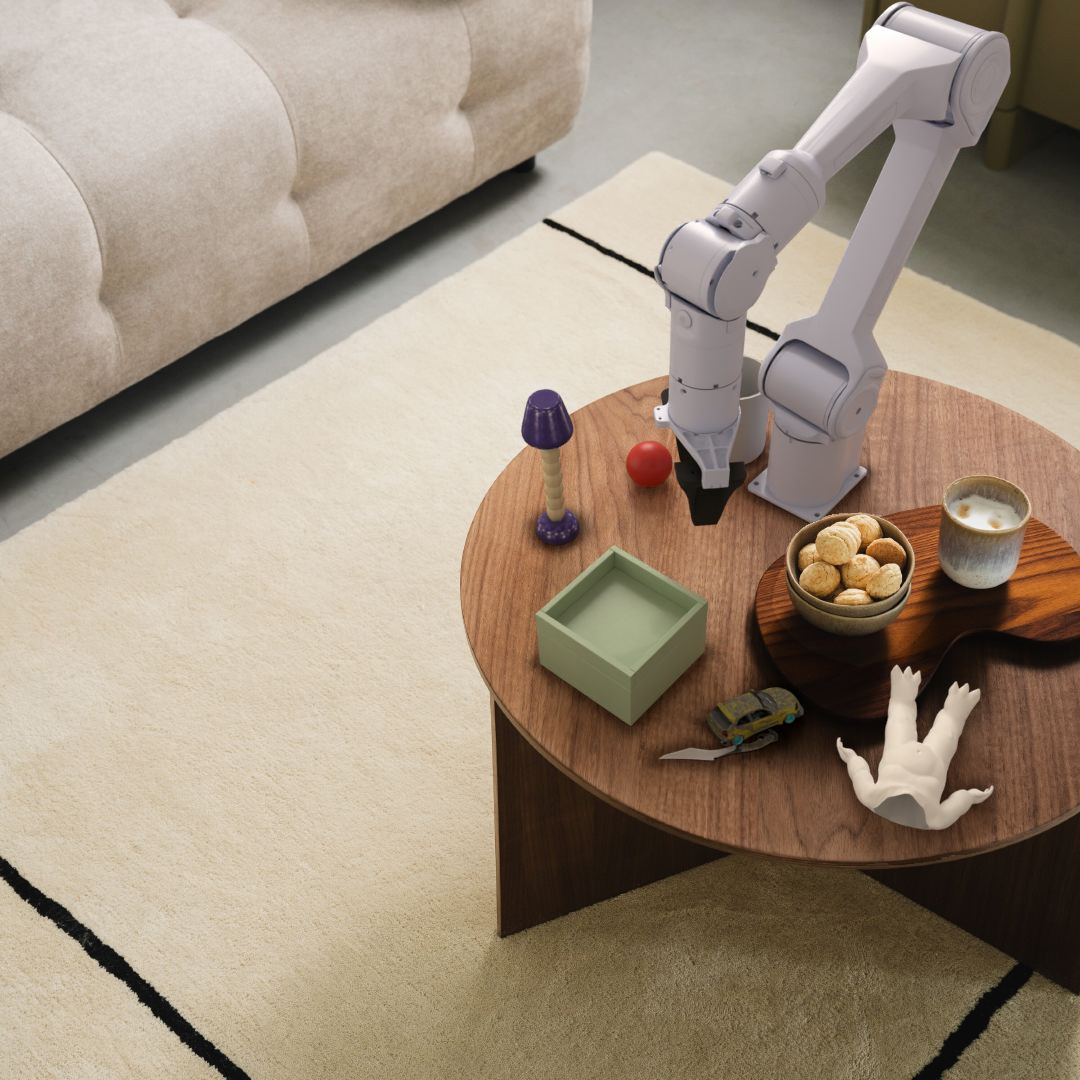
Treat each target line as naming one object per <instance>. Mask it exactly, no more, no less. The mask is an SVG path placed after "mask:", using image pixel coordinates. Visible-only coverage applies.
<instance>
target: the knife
mask: <svg viewBox="0 0 1080 1080" xmlns="http://www.w3.org/2000/svg"><path fill="white" fill-rule="evenodd" d="M767 730H768V732H767V733H759V734H758V735H757V737H756V739H757V740H755V741H752V742H750V743H743V742H742V743H741V744H739V745H733V744H732V745H729V746H727V747H724V748H719V749H711V750H710V749H702V748H696V747H695V748H694V747H689V748H685V749H682V750H678V751H673V752H670V753H667V754H663V755H662V756H660V757H659V758H658V760H664V759H665V760H667V759H670V760H671V759H674V760H675V759H676V760H677V759H679V760H681V759H682V760H700V761H715V758H721V757H724V756H728V755H731V754H736V753H737V754H738V753H745V752H751V751H755V750H759V749H762V748H764V747H766V746H767V745H769V744H770V743H773V742H777V741H778V740H779V734H778V733H777V732H776V731H774V730H773V729H771V728H767ZM760 736H763V738H760Z"/></svg>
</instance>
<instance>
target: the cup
mask: <svg viewBox="0 0 1080 1080" xmlns="http://www.w3.org/2000/svg"><path fill="white" fill-rule="evenodd" d="M762 362H763V360H760V359H758V358H757V357H754V356H751V355H749V354H748V355H747V354H743V365H742V379H741V389H740V401H739V405H740V408H741V419H740V424H739V427H738V431H737V434H736V438H735V441H734V444H733V448H732V451H731V455H730V458H729V462H742V461H744V464H745V465H748V464H751V463H752V462H754V461H755V460H756V459H758V458H759V456H761V454H762V453H763V452H764V449H765V446H766V441H767V440H766V439H767V433H768V431H767V430H768V423H769V413H770V410H768V402H769V399H768V398H767V397H765V396H763V395H762V394H761V393H760V391H759V389H758V374H759V370H760V367H761V364H762Z"/></svg>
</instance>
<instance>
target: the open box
mask: <svg viewBox="0 0 1080 1080" xmlns="http://www.w3.org/2000/svg"><path fill="white" fill-rule="evenodd" d="M708 609H709V600H708V599H705V598H704V597H702V596H701V595H700V594H698V593H696V592H694V591H692V590H691V589H689V588H688V587H686V586H684V585H683V584H680V583H679V582H678V581H675V580H674V579H673V578H671V577H669V576H667V575H665V574H664V573H662V572H660V571H658V570H657V569H655V568H654V567H652V566H651V565H648V564H646V563H645V562H643V561H641V560H640V559H639V558H637V557H635V556H633V555H631V554H630V553H628V552H626V551H625V550H623V549H622V548H620V547H618V546H617V545H615V544H613V545H612V546H610V547H609V548H608V549H607V550H606V551H605V552H604V553H603V554H601V555H600V556H599V557H598V558H597V559H596V560H594V562H592V563H591V564H590V565H589V566H588V567H586V569H584V570H583V571H582V572H581V573H580V574H579V575H578V576H576V577H575V578H574V579H573V580H572V581H571V582H570V583H569V584H567V585H566V586H565V587H564V588H563V589H562V590H560V592H558V593H557V594H556V595H555V596H554V597H553V598H551V600H549V601H548V602H547V603H546V604H545V605H544V606H543V607H542V608H540V609H539V610H538V611H537V612H536V613H535V614H534V615H535V625H536V626H535V627H536V633H537V635H536V636H537V646H538V656H539V664H540V665H541V666H542V667H544V668H546V669H547V670H548V671H550V672H552V673H553V674H554V675H556V676H557V677H558V678H560V679H562V680H563V681H564V682H566V683H567V684H569V685H570V686H572V687H573V688H574V689H576V690H577V691H579V692H580V693H581V694H583V695H585V696H586V697H587V698H589V699H590V700H592V701H593V702H595V703H596V704H597V705H599V706H601V707H602V708H604V709H605V710H607V712H609V713H611V714H612V715H613V716H615V717H617V718H618V719H619V720H621V721H622V722H624V723H625V724H626V725H628V726H629V727H632V726H633V724H634V723H636V722H637V721H638V720H639V719H640V718H641V717H642V716H643V714H644V713H646V712H647V710H648V709H650V708H651V706H653V704H654V703H656V701H657V700H658V699H660V698H661V696H663V694H664V693H666V691H668V689H669V688H670V687H671V686H672V685H674V683H675V682H676V681H677V680H678V679H680V677H681V676H682V675H683V674H684V673H685V672H686V671H687V670H688V669H690V667H691V666H692V665H693V664H694V663H695V661H697V660H698V659H699V658H700V657H701V656H702V655H703V654H704V653H705V651H706V650H705V649H706V637H707V636H706V635H707V634H706V633H707V622H708Z"/></svg>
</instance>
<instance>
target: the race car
mask: <svg viewBox="0 0 1080 1080" xmlns="http://www.w3.org/2000/svg"><path fill="white" fill-rule="evenodd" d="M804 711H805V709H804V708H803V706H802V705H801V704H800V701H799V700H798V698H797V697H796V696H795V695H794V693H792V692H791V691H789V690H787V689H785V688H782V687H777V686H776V687H769V688H766V689H763V690H762V689H761V690H757V691H755V690H754V689H752V688H750V689H749V692H746V693H743V694H740V695H738V696H735V697H732V698H729V699H727V700H725V701H724V702H716V706H715V707H713V708H712V709H711V710H709V711H708V715H707V716H706V720H705V723H706V724H707V726H708V728H707V730H709V731H710V732H711V734H712V736H713V737H714V738H715V739H716V741H717V742H719V744H720V745H723V746H724V748H727V747H730V746H733V745H739V744H741V743H743V742H744V741H745V740H747V739H748V738H750V737H752V736H754V734H757V733H759V732H762V731H765V730H768V729H770V728H772V727H774V726H776V725H783V723H786V724H791V723H793V722H794V721H795V720H796V719H798V718H800V717H802V716H803V715H804ZM731 744H732V745H731Z"/></svg>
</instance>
